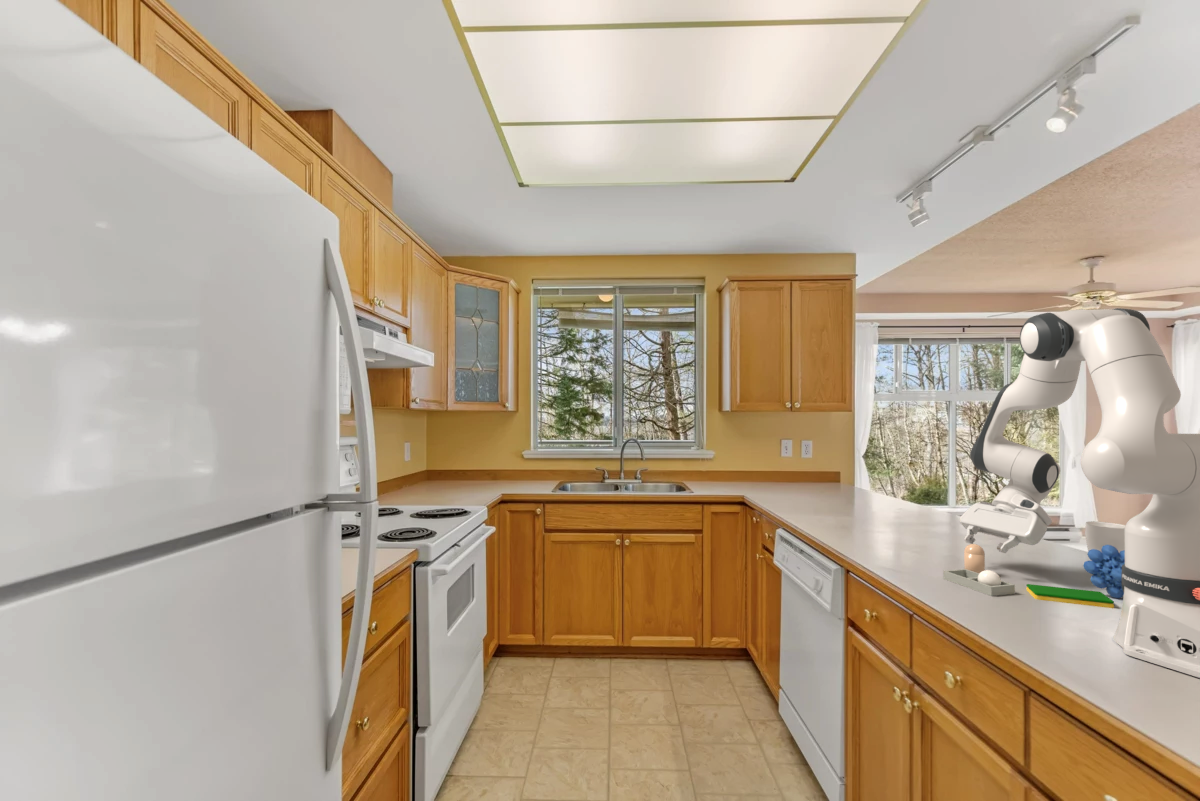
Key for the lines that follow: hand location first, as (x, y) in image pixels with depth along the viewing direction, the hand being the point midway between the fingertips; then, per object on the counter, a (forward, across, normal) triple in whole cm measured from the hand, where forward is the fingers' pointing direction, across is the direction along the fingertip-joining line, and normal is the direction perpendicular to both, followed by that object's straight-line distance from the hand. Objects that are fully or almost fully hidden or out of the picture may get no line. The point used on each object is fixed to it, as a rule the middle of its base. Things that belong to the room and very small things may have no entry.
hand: (983, 546), depth 144 cm
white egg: (+13, +11, -3) cm, 17 cm away
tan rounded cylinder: (+7, 0, +3) cm, 8 cm away
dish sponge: (+5, +20, +6) cm, 22 cm away
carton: (+13, +8, -3) cm, 16 cm away
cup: (-21, +4, +32) cm, 38 cm away
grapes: (-4, +22, +15) cm, 27 cm away
